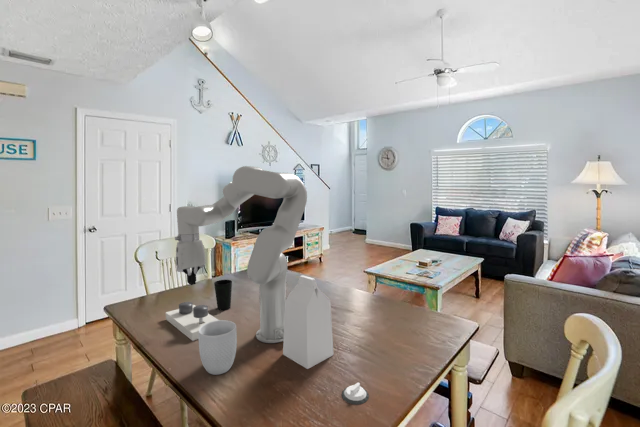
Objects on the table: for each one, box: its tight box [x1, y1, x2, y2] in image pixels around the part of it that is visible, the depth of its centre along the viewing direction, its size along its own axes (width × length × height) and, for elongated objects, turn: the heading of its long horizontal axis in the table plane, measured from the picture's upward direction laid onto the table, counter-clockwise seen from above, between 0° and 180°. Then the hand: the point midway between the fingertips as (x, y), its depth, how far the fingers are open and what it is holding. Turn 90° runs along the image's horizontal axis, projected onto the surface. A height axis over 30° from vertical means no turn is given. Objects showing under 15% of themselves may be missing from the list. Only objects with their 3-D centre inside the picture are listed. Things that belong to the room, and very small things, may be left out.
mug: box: [198, 319, 238, 376], centre depth 101 cm, size 15×11×13 cm
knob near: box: [193, 304, 209, 324], centre depth 125 cm, size 5×5×6 cm
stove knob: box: [341, 381, 370, 406], centre depth 87 cm, size 7×7×3 cm
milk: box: [282, 275, 334, 370], centre depth 107 cm, size 12×12×26 cm
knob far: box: [178, 301, 194, 314], centre depth 135 cm, size 5×5×6 cm
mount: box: [165, 304, 219, 342], centre depth 131 cm, size 26×12×3 cm, turn 45°
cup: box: [214, 279, 233, 312], centre depth 147 cm, size 8×8×12 cm
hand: (192, 283), depth 130 cm, fingers closed
